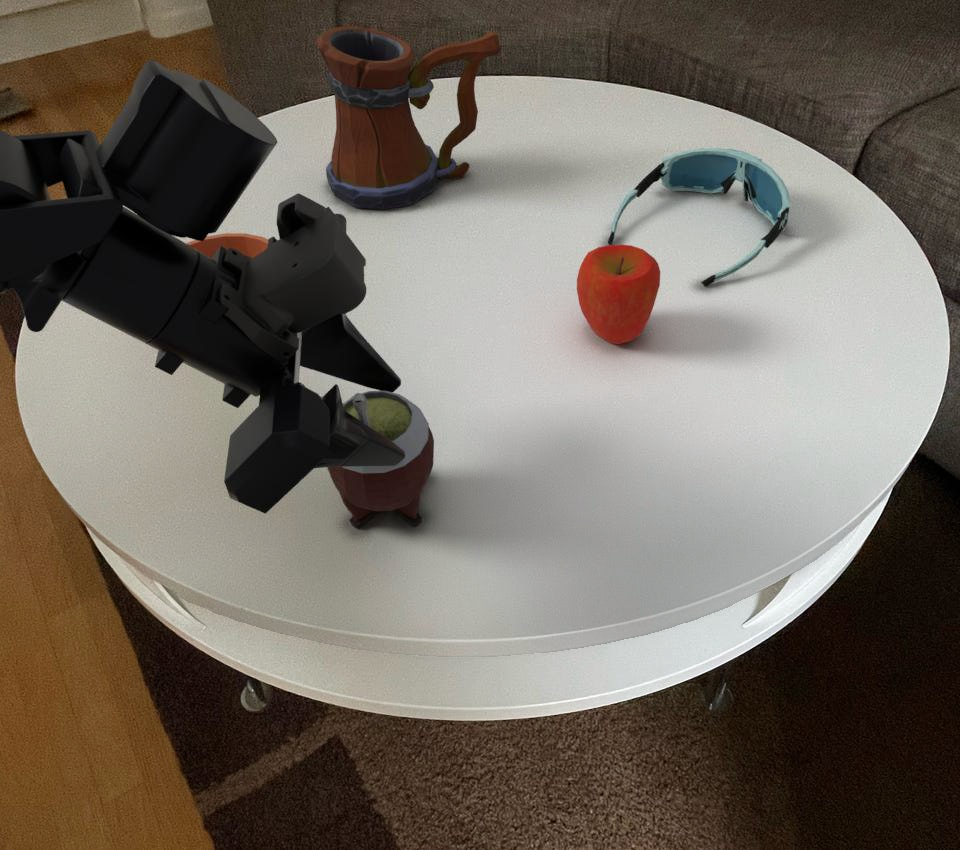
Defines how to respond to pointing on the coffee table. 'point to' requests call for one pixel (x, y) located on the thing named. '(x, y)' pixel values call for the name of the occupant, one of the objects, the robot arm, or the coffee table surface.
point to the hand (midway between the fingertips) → (399, 422)
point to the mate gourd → (387, 484)
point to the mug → (392, 115)
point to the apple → (618, 291)
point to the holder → (231, 244)
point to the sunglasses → (721, 188)
